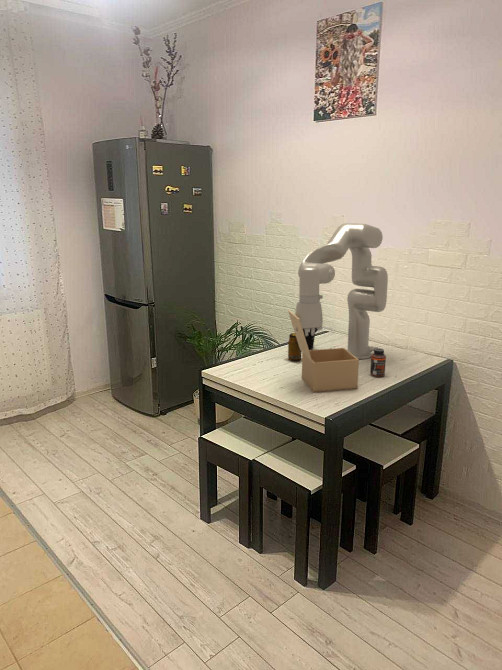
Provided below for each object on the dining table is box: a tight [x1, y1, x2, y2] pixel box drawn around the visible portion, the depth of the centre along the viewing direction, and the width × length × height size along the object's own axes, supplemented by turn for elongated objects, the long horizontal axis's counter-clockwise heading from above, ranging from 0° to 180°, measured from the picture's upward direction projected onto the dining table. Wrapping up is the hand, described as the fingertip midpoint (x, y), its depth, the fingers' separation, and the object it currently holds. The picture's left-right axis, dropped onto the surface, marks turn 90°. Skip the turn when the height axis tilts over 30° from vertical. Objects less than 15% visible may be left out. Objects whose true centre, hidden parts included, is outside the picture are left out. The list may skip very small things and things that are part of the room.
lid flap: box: [287, 309, 312, 361], centre depth 199 cm, size 18×15×1 cm
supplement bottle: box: [369, 347, 387, 378], centre depth 214 cm, size 6×6×11 cm
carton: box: [301, 347, 360, 393], centre depth 205 cm, size 18×16×12 cm
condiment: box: [284, 332, 302, 364], centre depth 234 cm, size 7×8×12 cm
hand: (308, 344), depth 201 cm, fingers closed
